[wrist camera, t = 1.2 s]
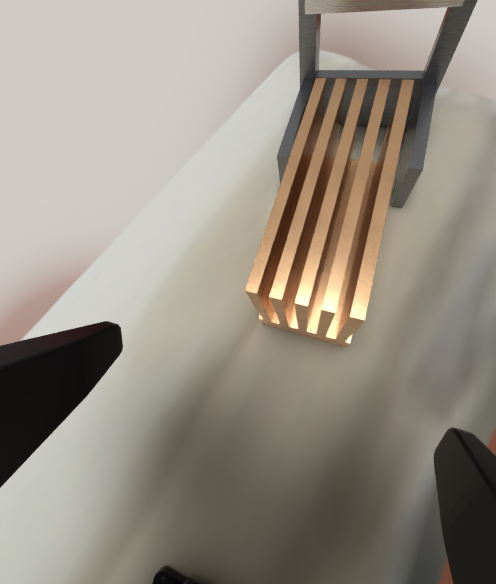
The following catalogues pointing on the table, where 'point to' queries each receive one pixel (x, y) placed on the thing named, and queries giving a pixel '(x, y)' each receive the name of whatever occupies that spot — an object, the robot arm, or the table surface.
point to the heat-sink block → (328, 217)
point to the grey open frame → (424, 88)
